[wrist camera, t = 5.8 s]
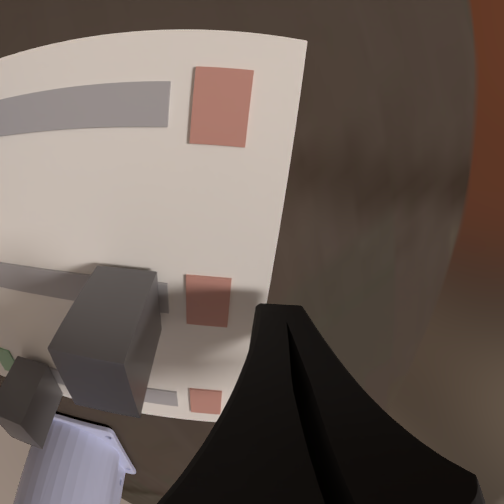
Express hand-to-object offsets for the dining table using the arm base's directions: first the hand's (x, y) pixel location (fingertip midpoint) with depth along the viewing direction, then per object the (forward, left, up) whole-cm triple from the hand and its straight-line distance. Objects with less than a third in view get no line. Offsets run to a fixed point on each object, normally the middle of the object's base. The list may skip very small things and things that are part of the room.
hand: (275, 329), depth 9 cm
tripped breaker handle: (0, +5, -1) cm, 5 cm away
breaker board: (0, +8, -3) cm, 8 cm away
